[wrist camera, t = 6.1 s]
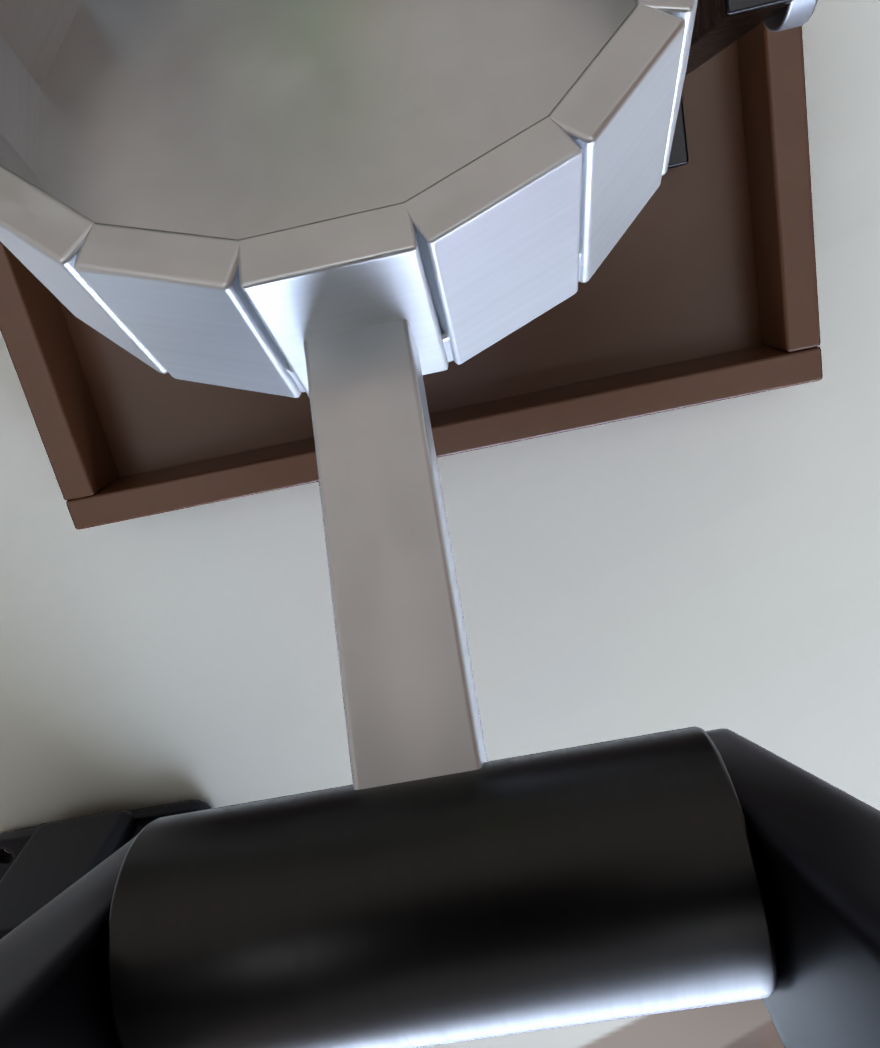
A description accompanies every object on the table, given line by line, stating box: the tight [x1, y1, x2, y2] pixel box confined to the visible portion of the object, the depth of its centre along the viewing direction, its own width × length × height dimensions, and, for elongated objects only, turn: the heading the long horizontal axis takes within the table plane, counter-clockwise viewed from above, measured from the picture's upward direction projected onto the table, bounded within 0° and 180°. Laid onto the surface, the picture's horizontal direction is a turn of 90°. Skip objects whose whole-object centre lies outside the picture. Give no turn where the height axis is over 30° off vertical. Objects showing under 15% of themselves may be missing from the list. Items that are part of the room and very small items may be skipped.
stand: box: [667, 0, 817, 169], centre depth 14 cm, size 4×13×6 cm, turn 102°
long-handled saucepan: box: [0, 0, 777, 1048], centre depth 10 cm, size 16×10×3 cm
